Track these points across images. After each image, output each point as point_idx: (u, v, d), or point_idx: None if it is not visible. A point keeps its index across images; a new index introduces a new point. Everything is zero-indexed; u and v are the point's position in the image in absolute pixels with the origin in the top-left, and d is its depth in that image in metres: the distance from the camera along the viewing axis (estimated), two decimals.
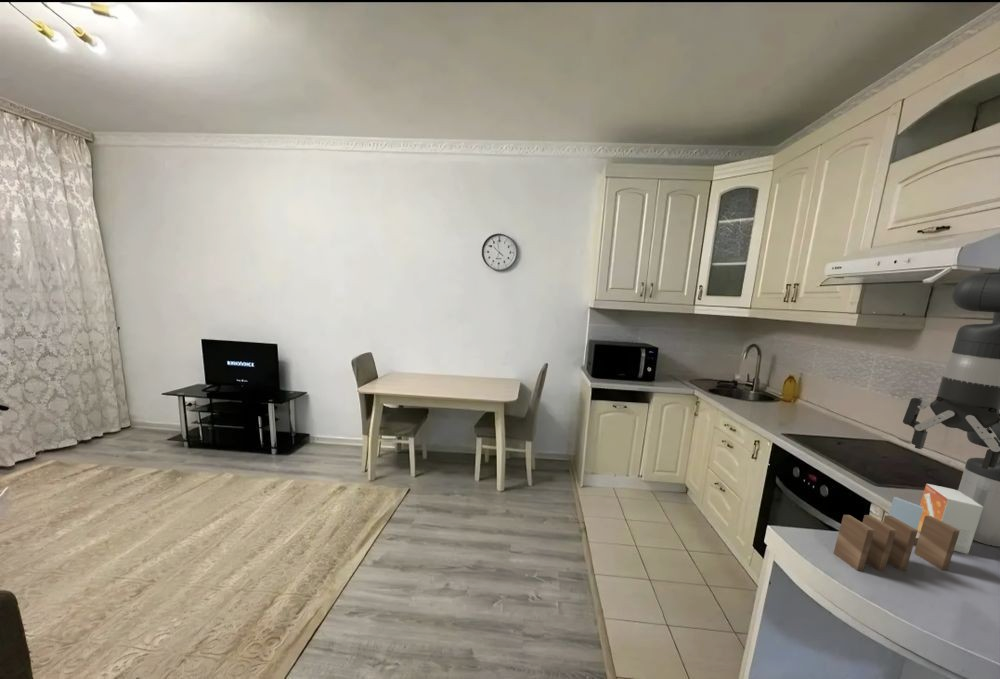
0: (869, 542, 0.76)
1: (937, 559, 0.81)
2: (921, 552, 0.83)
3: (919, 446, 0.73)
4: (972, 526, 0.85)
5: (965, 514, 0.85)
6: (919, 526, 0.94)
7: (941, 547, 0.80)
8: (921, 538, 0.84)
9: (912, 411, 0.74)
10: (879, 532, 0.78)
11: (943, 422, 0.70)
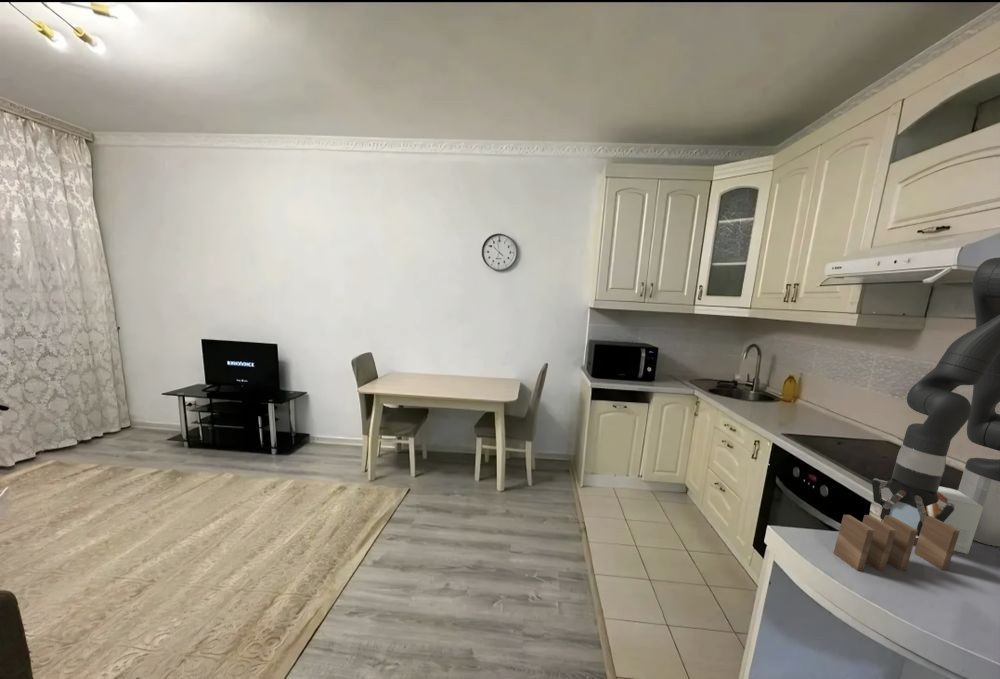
0: (869, 542, 0.76)
1: (937, 559, 0.81)
2: (921, 552, 0.83)
3: None
4: (972, 526, 0.85)
5: (965, 514, 0.85)
6: None
7: (941, 547, 0.80)
8: (921, 538, 0.84)
9: None
10: (879, 532, 0.78)
11: None
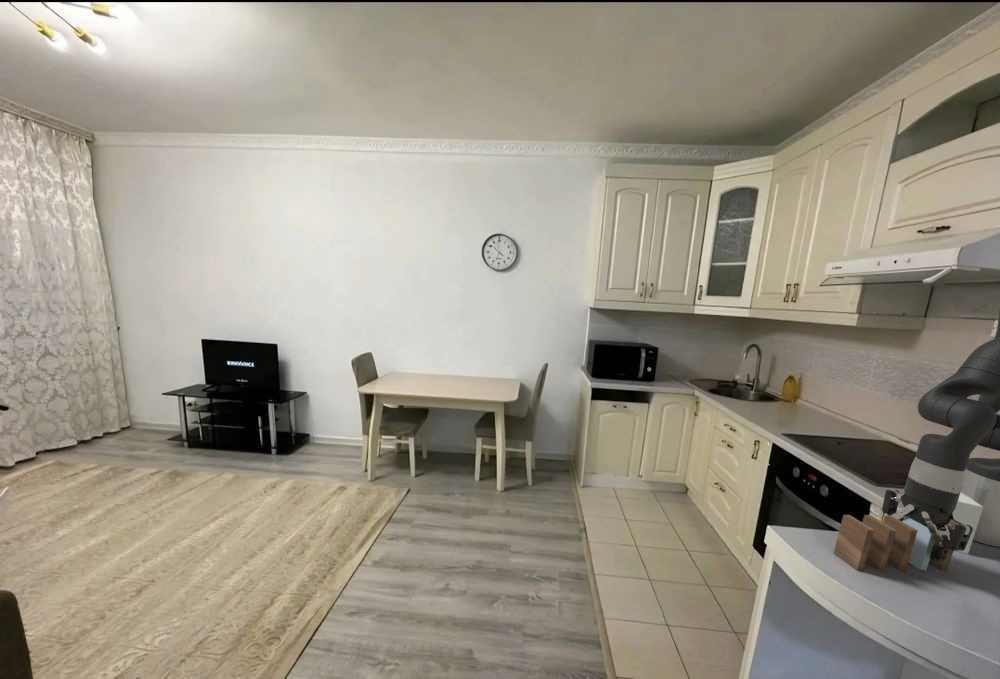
0: (869, 542, 0.76)
1: None
2: None
3: None
4: (972, 526, 0.85)
5: (965, 514, 0.85)
6: None
7: None
8: None
9: None
10: (879, 532, 0.78)
11: None
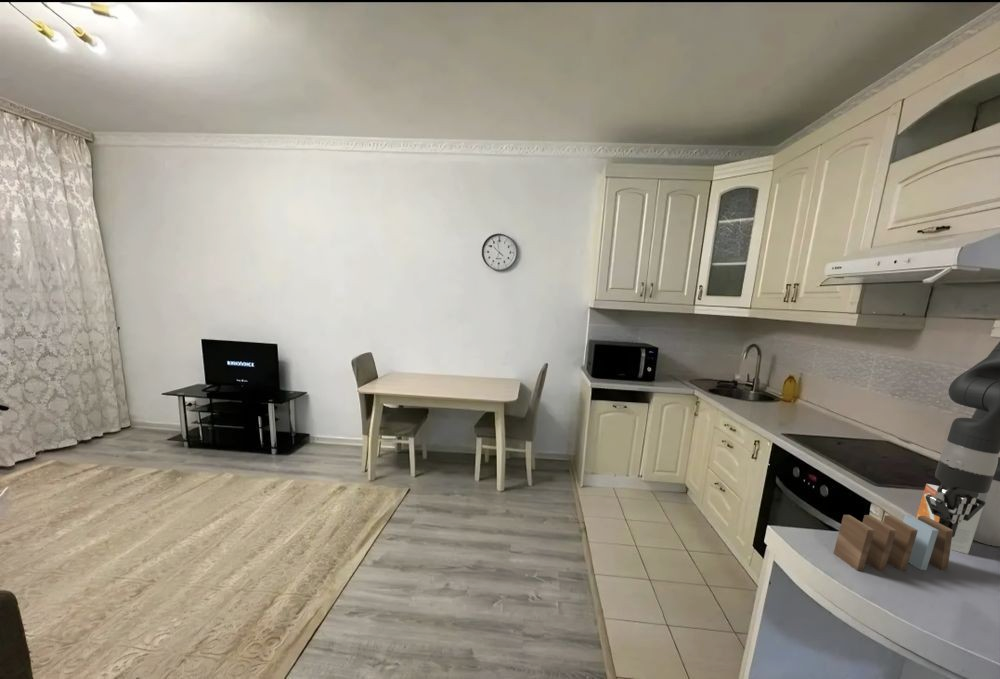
0: (869, 542, 0.76)
1: (936, 559, 0.81)
2: None
3: None
4: (972, 526, 0.85)
5: None
6: None
7: (937, 547, 0.80)
8: None
9: (945, 510, 0.78)
10: (879, 532, 0.78)
11: None
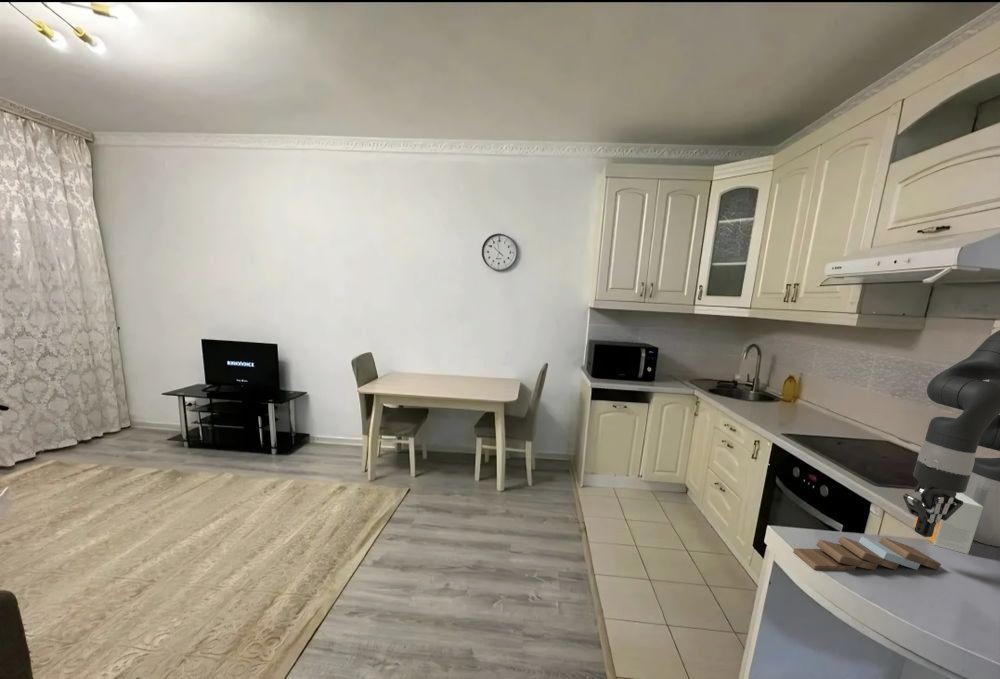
0: (827, 567, 0.77)
1: None
2: None
3: None
4: (972, 526, 0.85)
5: (965, 514, 0.85)
6: None
7: None
8: None
9: (922, 509, 0.78)
10: None
11: None
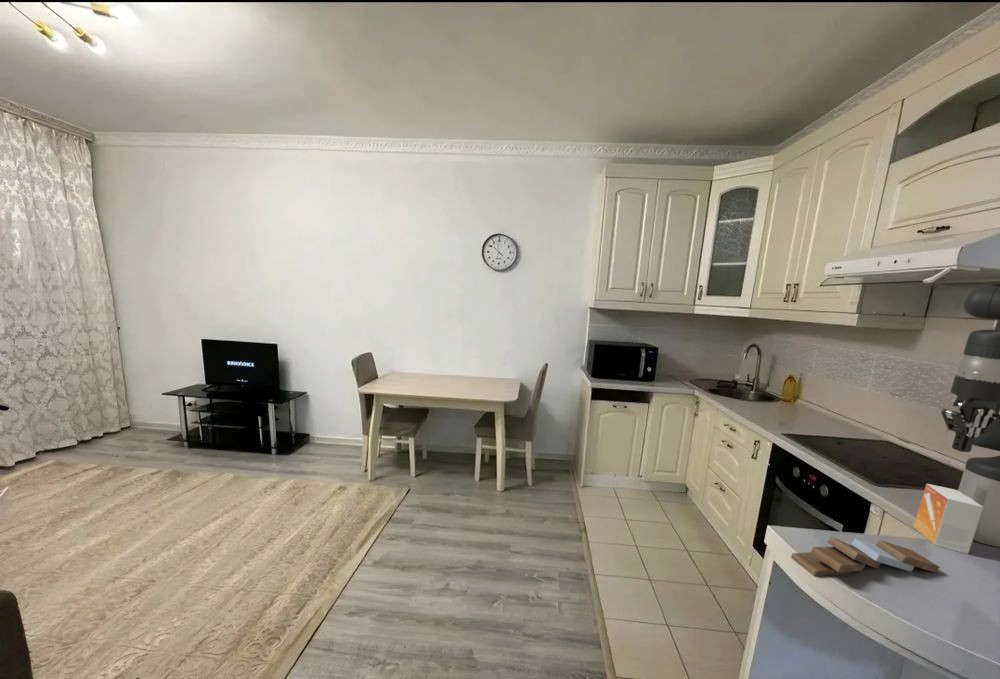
0: (826, 571, 0.75)
1: None
2: None
3: None
4: (972, 526, 0.85)
5: (965, 514, 0.85)
6: (919, 526, 0.94)
7: None
8: None
9: (962, 422, 0.78)
10: None
11: None
